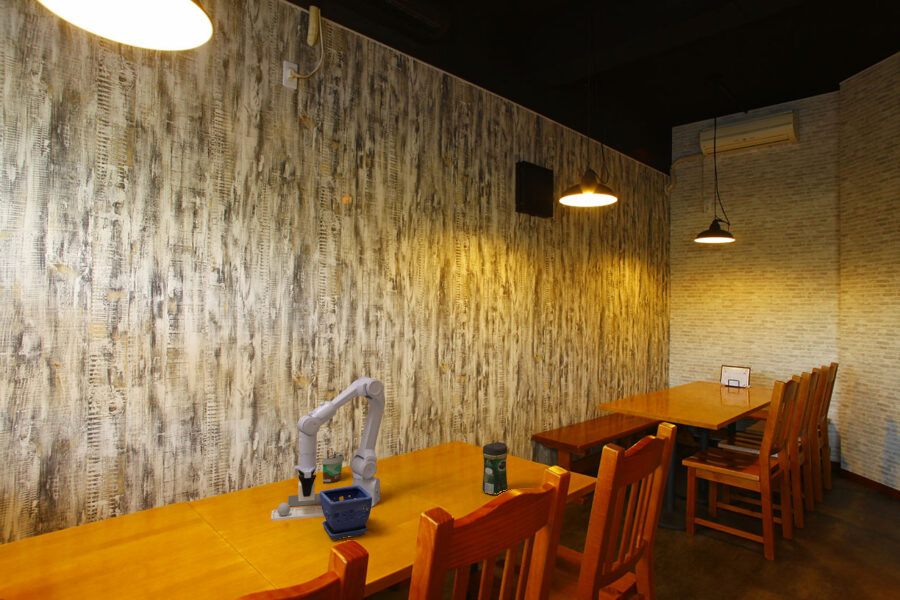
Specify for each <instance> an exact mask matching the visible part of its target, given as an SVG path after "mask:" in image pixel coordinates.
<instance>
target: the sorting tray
mask: <svg viewBox="0 0 900 600" xmlns="http://www.w3.org/2000/svg"><path fill="white" fill-rule="evenodd" d="M318 517H319V518H320V517H325V516H324V514H323V511H322V507H321V505H314V506H302V507H291V508H290V512H289V513H288V514H287V515H285V516H281V515H279V513H278V509H273V510H272V509H271V517H270V521H271V522H274V521H275V522H276V521H277V522H278V521H284V520H285V521H287V520H296V519H308V518H318Z"/></svg>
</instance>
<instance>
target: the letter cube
mask: <svg viewBox="0 0 900 600" xmlns="http://www.w3.org/2000/svg"><path fill="white" fill-rule="evenodd" d="M315 489H316V486H315V481H314V482H313V486H312V490H311V495H310V496H309V497H304V496H303V492H302V485H301V482H300V480H298V493H297V495H298V499H299V501H308V500H314V496H315V494H316V493H315Z"/></svg>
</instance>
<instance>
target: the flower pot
mask: <svg viewBox="0 0 900 600" xmlns="http://www.w3.org/2000/svg"><path fill="white" fill-rule="evenodd" d="M319 493H320V501H321V505H320V506H321V507H322V511H323V514H324V516H323V517H324V519H325V520H324V521H321V524H322V526H323V527H324V529H325V530H326V533H327V534H328V535H329V537H330V539H332V540H333V539H337V540H340V539H339V538H343V537H348V536H354V537H358V536H357V535H359V536H362V535H364V534H365V533H366V532H368V529H369V528H368V526H367V525H366V524H367V523H368V520H369V517H370V514H371V511H372V507H371V506H372V497H371V495H370V494H369V493H368V492H367V491H365V490H364V489H363V488H362V487H361V486H359V485H355V486H353V485H349V486H341V487H336V488H330V489H325V490H321V491H319ZM341 497H343V499H342V500H340V498H341ZM354 498H356V499H354ZM348 538H349V537H348ZM343 539H344V538H343Z"/></svg>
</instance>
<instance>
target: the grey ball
mask: <svg viewBox="0 0 900 600" xmlns="http://www.w3.org/2000/svg"><path fill="white" fill-rule="evenodd" d="M290 509H291V507H290V506H289V504H288V502H282V503H280V504H279V505H278V506H277V510H278V513H279V515H281V516H285V515H287V514H288V513H289V512H290Z"/></svg>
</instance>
